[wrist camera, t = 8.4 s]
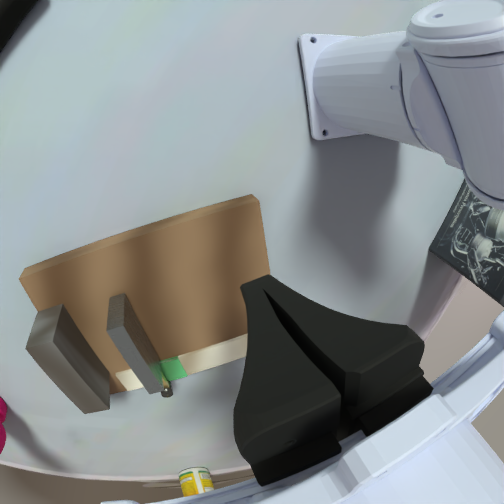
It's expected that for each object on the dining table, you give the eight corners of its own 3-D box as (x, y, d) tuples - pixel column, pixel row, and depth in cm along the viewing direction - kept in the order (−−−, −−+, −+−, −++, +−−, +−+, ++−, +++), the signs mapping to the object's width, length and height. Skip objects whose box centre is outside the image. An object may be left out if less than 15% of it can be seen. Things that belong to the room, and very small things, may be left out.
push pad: (124, 292, 19) (123, 325, 16) (172, 379, 24) (178, 410, 21) (109, 297, 19) (106, 330, 16) (160, 383, 24) (165, 414, 21)
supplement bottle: (209, 465, 40) (226, 512, 32) (206, 475, 42) (221, 518, 34) (178, 468, 38) (192, 517, 30) (177, 477, 40) (190, 522, 32)
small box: (471, 157, 27) (551, 192, 17) (486, 183, 30) (553, 218, 20) (426, 249, 31) (501, 304, 21) (445, 264, 34) (508, 312, 24)
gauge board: (251, 194, 21) (283, 223, 16) (274, 332, 28) (298, 373, 23) (24, 268, 17) (0, 313, 13) (102, 384, 24) (102, 430, 20)
